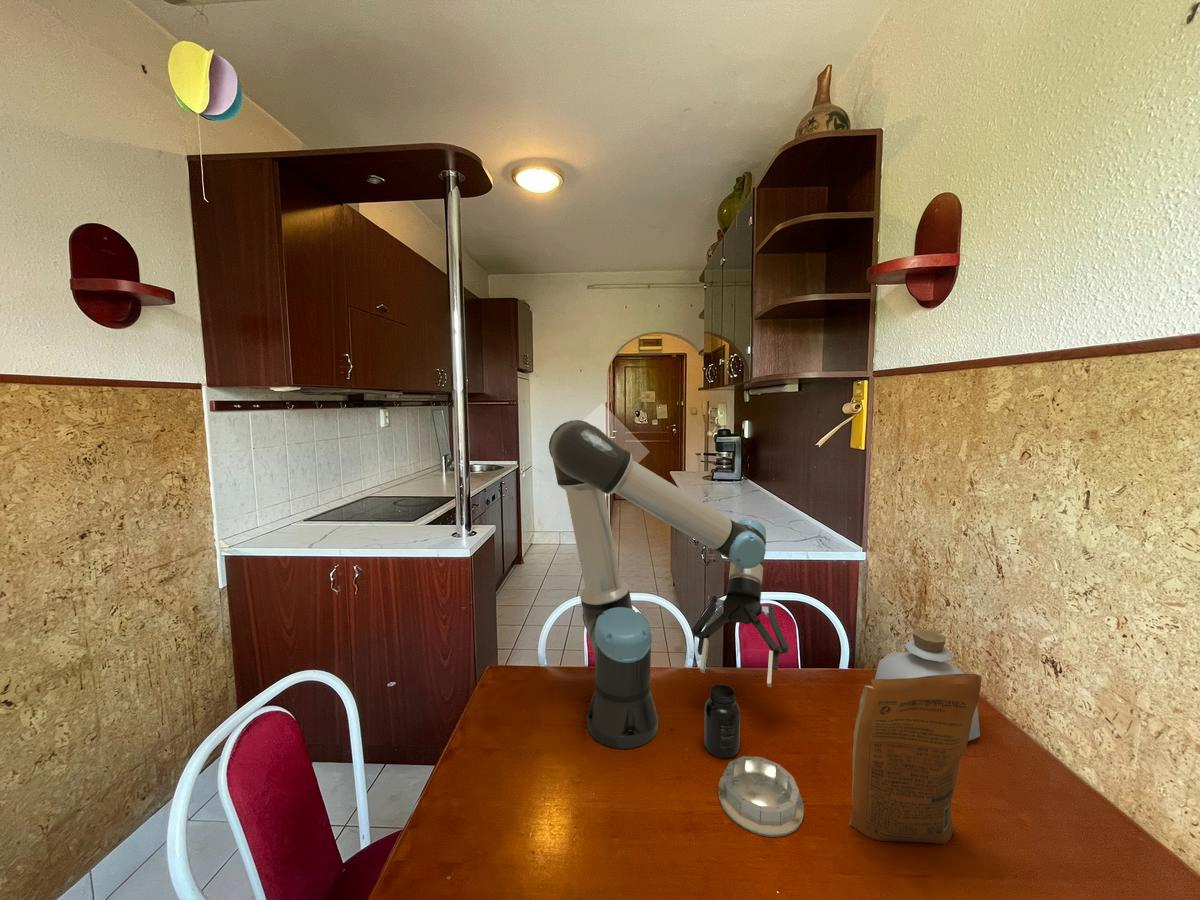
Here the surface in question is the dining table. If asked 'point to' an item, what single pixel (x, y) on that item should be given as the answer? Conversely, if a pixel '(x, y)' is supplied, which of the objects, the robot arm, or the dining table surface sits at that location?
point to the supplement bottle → (722, 722)
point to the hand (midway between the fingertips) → (734, 678)
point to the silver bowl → (761, 797)
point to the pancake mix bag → (910, 755)
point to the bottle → (923, 663)
